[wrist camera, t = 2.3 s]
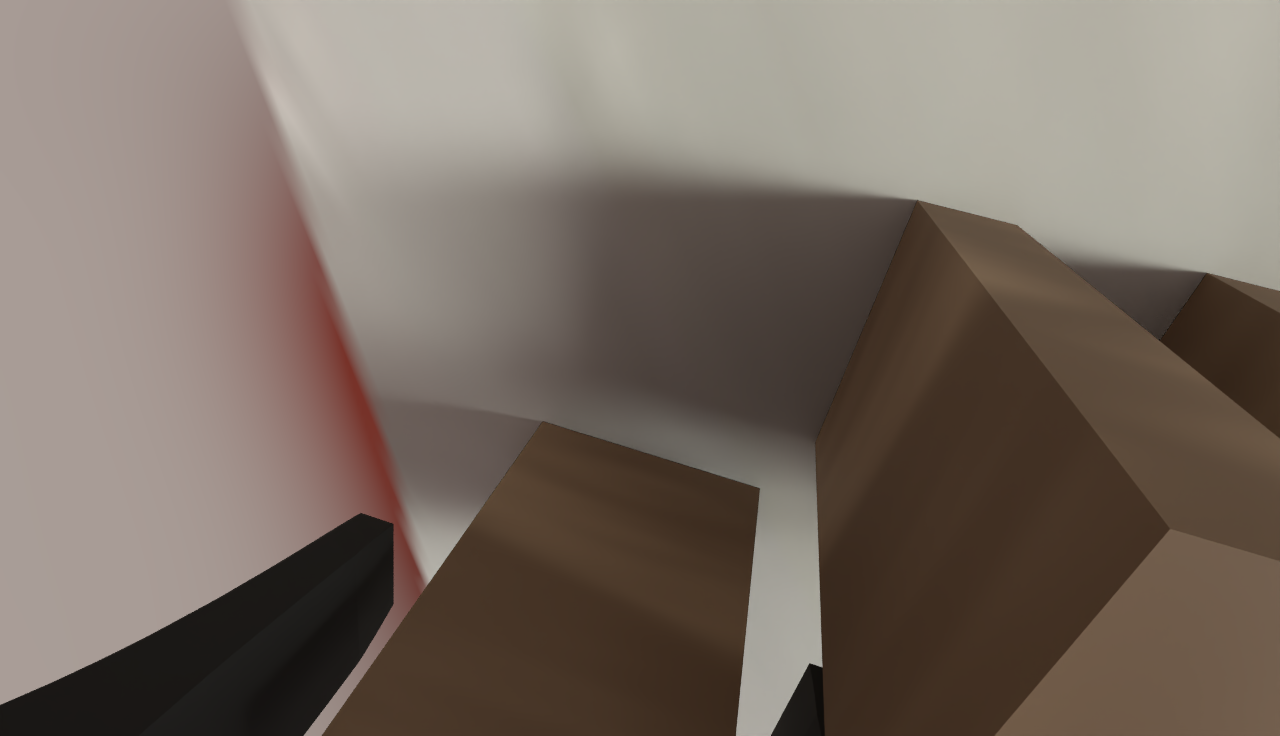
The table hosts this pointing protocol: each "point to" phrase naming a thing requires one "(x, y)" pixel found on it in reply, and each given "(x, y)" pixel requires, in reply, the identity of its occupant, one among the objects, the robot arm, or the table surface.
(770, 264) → the table surface
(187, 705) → the robot arm
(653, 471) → the domino
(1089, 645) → the domino
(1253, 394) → the domino
